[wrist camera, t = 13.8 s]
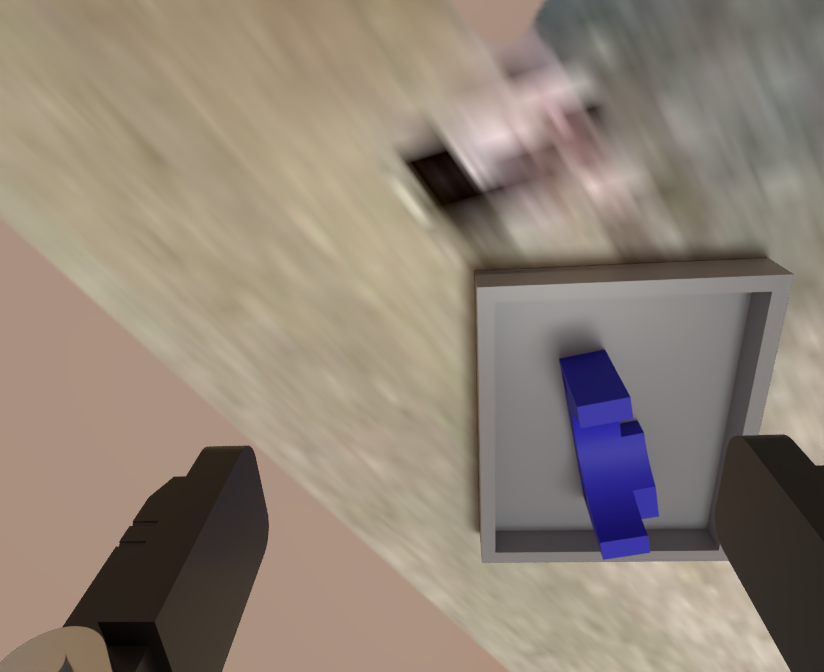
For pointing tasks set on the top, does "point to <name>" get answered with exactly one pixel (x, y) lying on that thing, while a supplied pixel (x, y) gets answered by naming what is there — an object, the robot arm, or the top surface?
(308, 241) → the top surface
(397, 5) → the top surface
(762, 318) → the tray
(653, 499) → the blue curved block
